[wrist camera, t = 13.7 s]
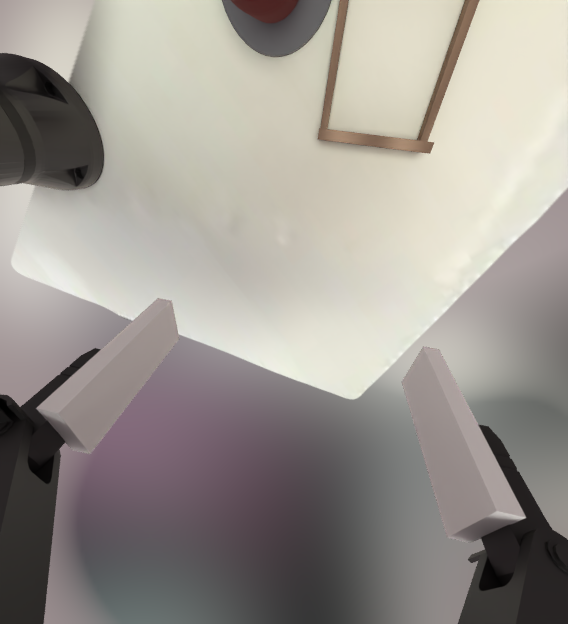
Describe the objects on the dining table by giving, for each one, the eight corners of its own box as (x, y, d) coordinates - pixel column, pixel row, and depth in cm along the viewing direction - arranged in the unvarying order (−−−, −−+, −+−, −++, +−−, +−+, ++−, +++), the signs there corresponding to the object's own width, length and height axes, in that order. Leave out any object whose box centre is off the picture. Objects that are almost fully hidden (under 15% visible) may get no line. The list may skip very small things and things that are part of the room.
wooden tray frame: (319, 139, 31) (317, 139, 28) (352, -79, 22) (356, -117, 19) (419, 152, 30) (430, 153, 27) (499, -69, 21) (529, -108, 18)
